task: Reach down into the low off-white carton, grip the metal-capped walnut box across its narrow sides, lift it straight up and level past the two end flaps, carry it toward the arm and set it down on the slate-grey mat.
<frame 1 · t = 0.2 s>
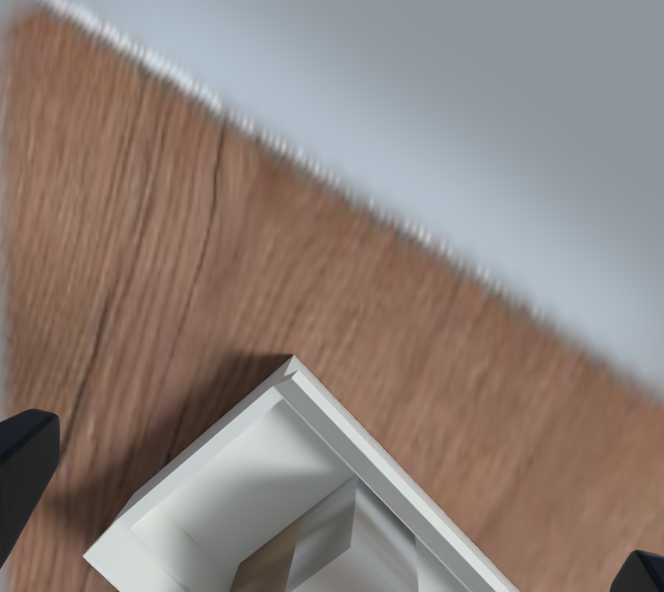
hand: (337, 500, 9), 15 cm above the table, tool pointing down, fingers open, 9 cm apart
walnut box: (325, 547, 26), resting on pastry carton
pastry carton: (325, 542, 26), on the table
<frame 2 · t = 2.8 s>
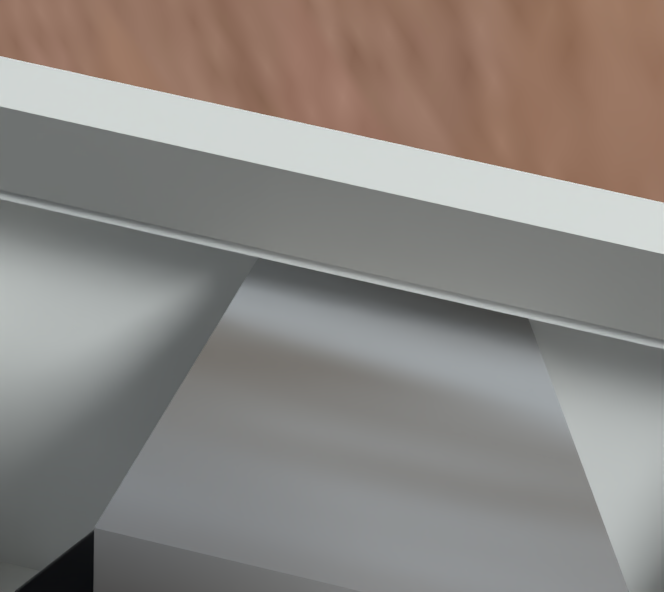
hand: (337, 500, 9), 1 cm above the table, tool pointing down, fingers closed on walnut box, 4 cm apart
walnut box: (342, 467, 10), resting on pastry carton, touching gripper
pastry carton: (344, 455, 10), on the table
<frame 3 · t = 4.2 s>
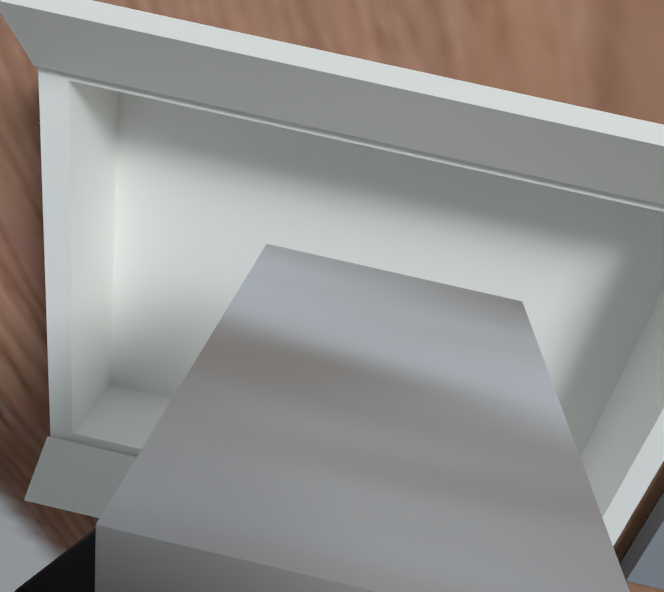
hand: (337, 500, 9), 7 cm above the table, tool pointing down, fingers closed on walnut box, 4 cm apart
walnut box: (342, 466, 10), point 6 cm above the table, touching gripper
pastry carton: (368, 299, 16), on the table
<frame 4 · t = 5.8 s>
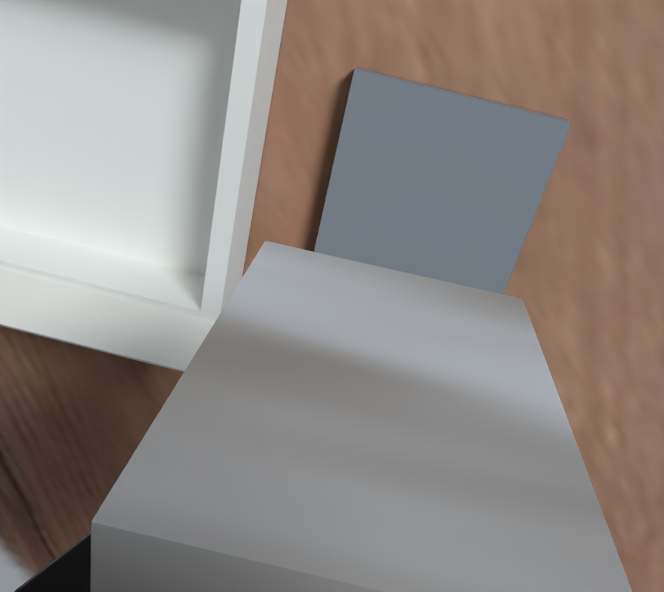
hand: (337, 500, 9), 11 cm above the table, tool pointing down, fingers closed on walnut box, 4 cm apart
walnut box: (341, 465, 10), point 10 cm above the table, touching gripper
slate mat: (411, 254, 19), on the table
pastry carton: (28, 95, 18), on the table
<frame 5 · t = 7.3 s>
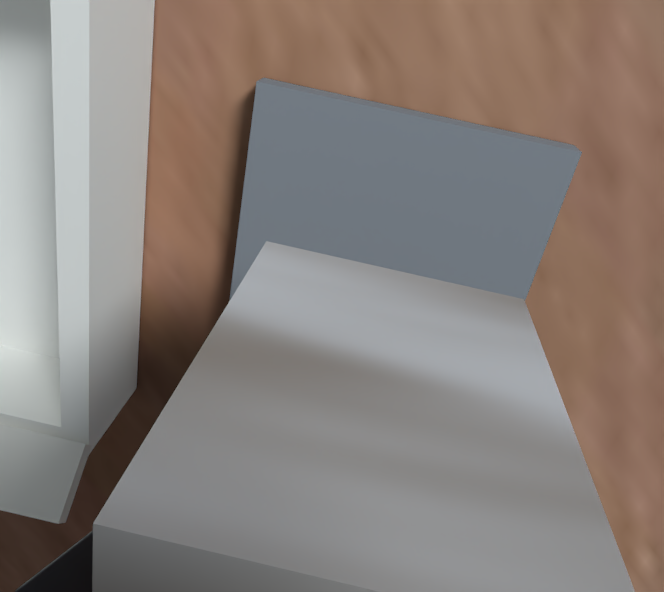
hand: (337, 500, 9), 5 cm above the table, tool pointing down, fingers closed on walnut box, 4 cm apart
walnut box: (342, 466, 10), point 4 cm above the table, touching gripper
slate mat: (362, 333, 14), on the table
when the fingers open (3 cm above the table, at t = 8.6 s): walnut box drops 1 cm, resting on slate mat.
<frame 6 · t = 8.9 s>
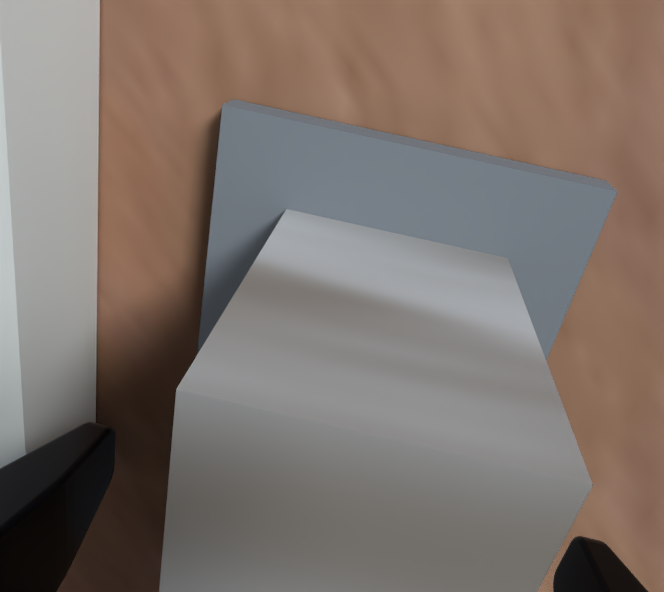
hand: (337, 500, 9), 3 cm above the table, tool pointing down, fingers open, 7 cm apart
walnut box: (351, 411, 11), point 1 cm above the table, touching slate mat
slate mat: (353, 393, 12), on the table
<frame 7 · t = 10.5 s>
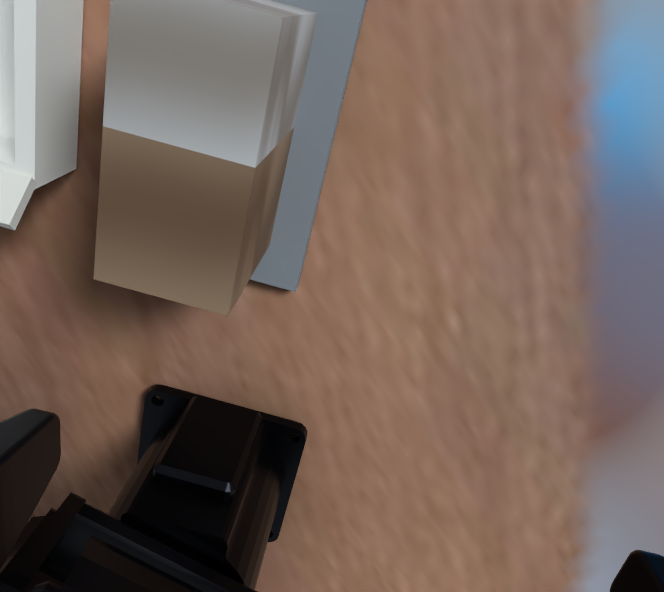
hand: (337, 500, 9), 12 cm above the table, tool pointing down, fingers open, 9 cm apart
walnut box: (234, 124, 18), point 1 cm above the table, touching slate mat
slate mat: (239, 121, 19), on the table
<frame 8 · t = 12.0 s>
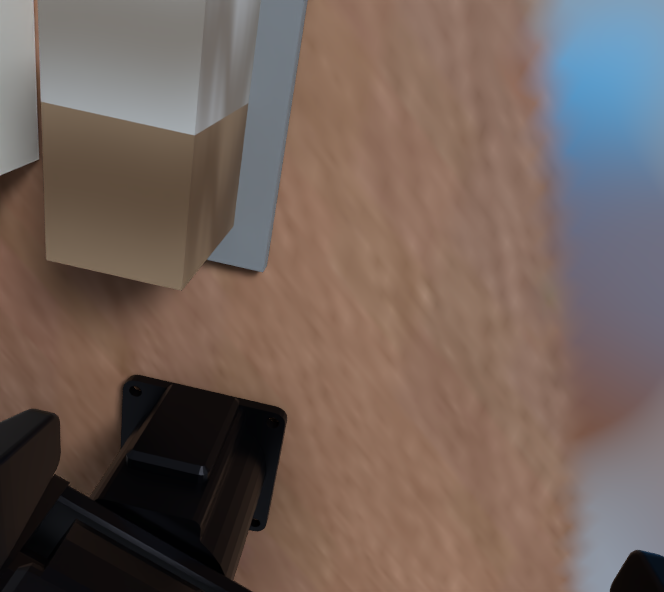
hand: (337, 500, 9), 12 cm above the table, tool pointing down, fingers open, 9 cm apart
walnut box: (189, 103, 18), point 1 cm above the table, touching slate mat
slate mat: (195, 101, 19), on the table
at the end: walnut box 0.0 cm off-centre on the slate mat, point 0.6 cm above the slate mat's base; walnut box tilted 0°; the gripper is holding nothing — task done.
